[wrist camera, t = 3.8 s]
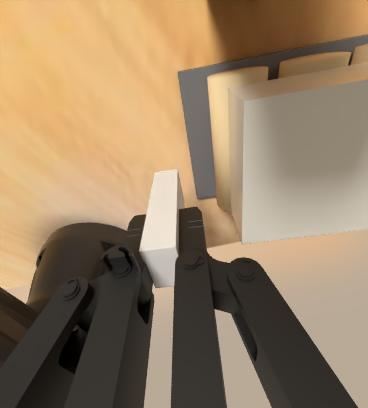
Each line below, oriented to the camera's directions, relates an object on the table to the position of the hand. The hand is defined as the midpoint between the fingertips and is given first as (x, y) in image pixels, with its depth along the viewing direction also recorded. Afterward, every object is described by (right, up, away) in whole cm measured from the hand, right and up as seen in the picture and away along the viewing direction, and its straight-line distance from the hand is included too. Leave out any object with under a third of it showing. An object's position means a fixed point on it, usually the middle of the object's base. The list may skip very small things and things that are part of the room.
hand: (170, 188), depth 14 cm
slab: (+10, +3, +1) cm, 11 cm away
